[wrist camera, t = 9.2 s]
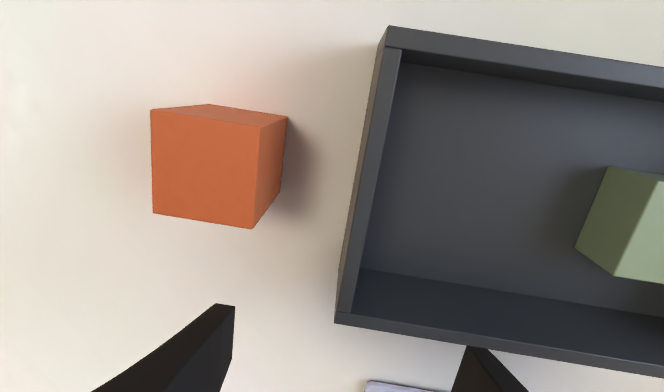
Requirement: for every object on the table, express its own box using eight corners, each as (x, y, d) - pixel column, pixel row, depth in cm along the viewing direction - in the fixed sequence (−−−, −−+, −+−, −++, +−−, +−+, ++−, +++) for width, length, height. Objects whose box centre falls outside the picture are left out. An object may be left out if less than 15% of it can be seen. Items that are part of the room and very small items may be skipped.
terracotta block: (279, 192, 19) (252, 230, 14) (205, 180, 19) (152, 213, 14) (287, 116, 18) (261, 126, 13) (208, 103, 18) (149, 108, 13)
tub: (666, 323, 20) (762, 395, 15) (338, 269, 20) (333, 323, 16) (788, 107, 16) (969, 113, 11) (378, 43, 16) (388, 24, 12)
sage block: (658, 261, 18) (713, 292, 16) (573, 248, 19) (612, 276, 16) (700, 180, 17) (770, 198, 14) (607, 165, 17) (658, 180, 14)
